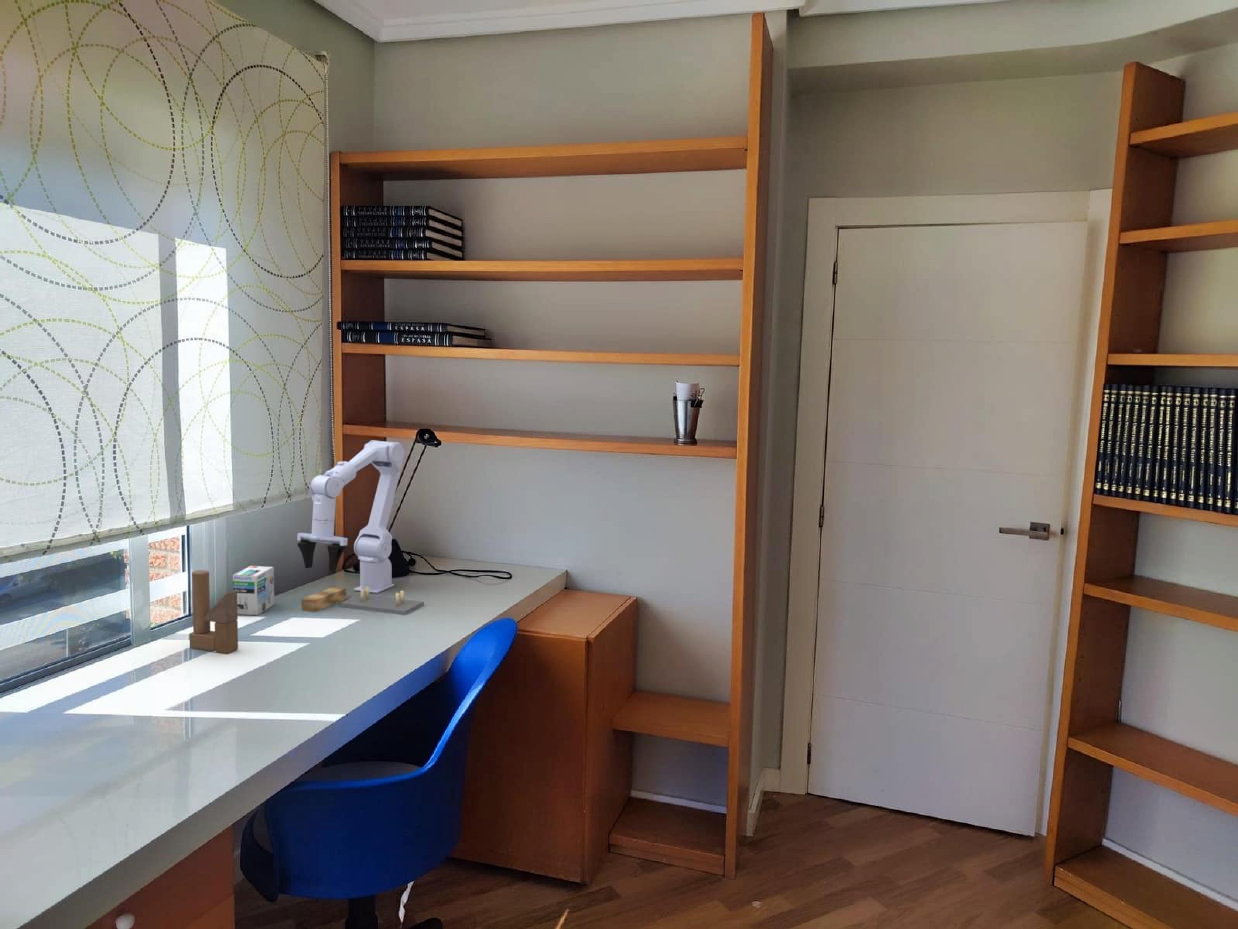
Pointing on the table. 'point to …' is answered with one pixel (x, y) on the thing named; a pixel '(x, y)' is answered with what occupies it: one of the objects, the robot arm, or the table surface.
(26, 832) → the table surface
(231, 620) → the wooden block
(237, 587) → the light bulb box
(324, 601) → the light wood bar
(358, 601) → the peg stand
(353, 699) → the table surface
